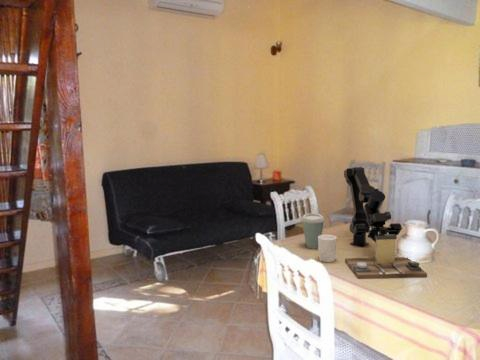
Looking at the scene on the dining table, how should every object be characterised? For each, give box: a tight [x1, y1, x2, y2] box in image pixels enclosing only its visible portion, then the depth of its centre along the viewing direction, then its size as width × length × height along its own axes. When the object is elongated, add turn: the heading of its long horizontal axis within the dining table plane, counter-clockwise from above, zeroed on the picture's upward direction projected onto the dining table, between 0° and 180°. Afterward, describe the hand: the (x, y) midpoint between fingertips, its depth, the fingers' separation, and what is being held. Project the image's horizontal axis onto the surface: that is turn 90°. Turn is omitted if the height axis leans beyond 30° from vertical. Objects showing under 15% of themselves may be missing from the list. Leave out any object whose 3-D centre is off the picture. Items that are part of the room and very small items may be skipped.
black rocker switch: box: [408, 261, 420, 267], centre depth 154 cm, size 4×3×1 cm
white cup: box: [317, 234, 338, 263], centre depth 170 cm, size 8×8×10 cm
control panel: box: [344, 256, 428, 280], centre depth 158 cm, size 18×26×2 cm
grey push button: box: [357, 262, 367, 269], centre depth 154 cm, size 4×4×1 cm
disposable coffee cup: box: [301, 212, 325, 249], centre depth 188 cm, size 11×11×15 cm
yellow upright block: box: [374, 233, 398, 268], centre depth 156 cm, size 4×8×13 cm, turn 90°
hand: (381, 248), depth 160 cm, fingers closed
